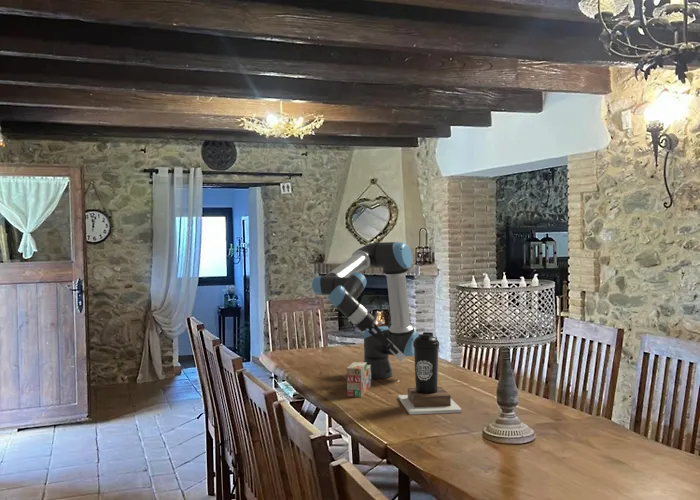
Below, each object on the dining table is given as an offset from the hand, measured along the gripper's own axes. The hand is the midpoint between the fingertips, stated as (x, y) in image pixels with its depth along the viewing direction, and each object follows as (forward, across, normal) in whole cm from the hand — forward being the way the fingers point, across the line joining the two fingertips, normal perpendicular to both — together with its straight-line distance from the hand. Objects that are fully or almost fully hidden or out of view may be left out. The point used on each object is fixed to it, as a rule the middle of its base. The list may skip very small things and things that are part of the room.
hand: (399, 355), depth 250 cm
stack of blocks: (+5, -25, -24) cm, 35 cm away
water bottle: (+18, 0, -3) cm, 18 cm away
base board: (+22, +2, -6) cm, 23 cm away
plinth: (+21, +1, -5) cm, 22 cm away
